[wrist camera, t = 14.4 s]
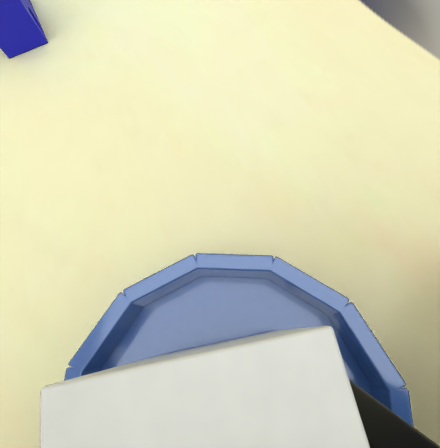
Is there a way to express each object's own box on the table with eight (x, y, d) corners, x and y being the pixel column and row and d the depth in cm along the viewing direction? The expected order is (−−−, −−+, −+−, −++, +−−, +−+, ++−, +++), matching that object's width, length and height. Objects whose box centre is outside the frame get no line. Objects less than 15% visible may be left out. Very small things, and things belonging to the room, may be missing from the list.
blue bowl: (280, 633, 11) (307, 838, 7) (63, 437, 14) (-24, 488, 9) (397, 358, 14) (474, 371, 10) (199, 238, 17) (184, 202, 12)
